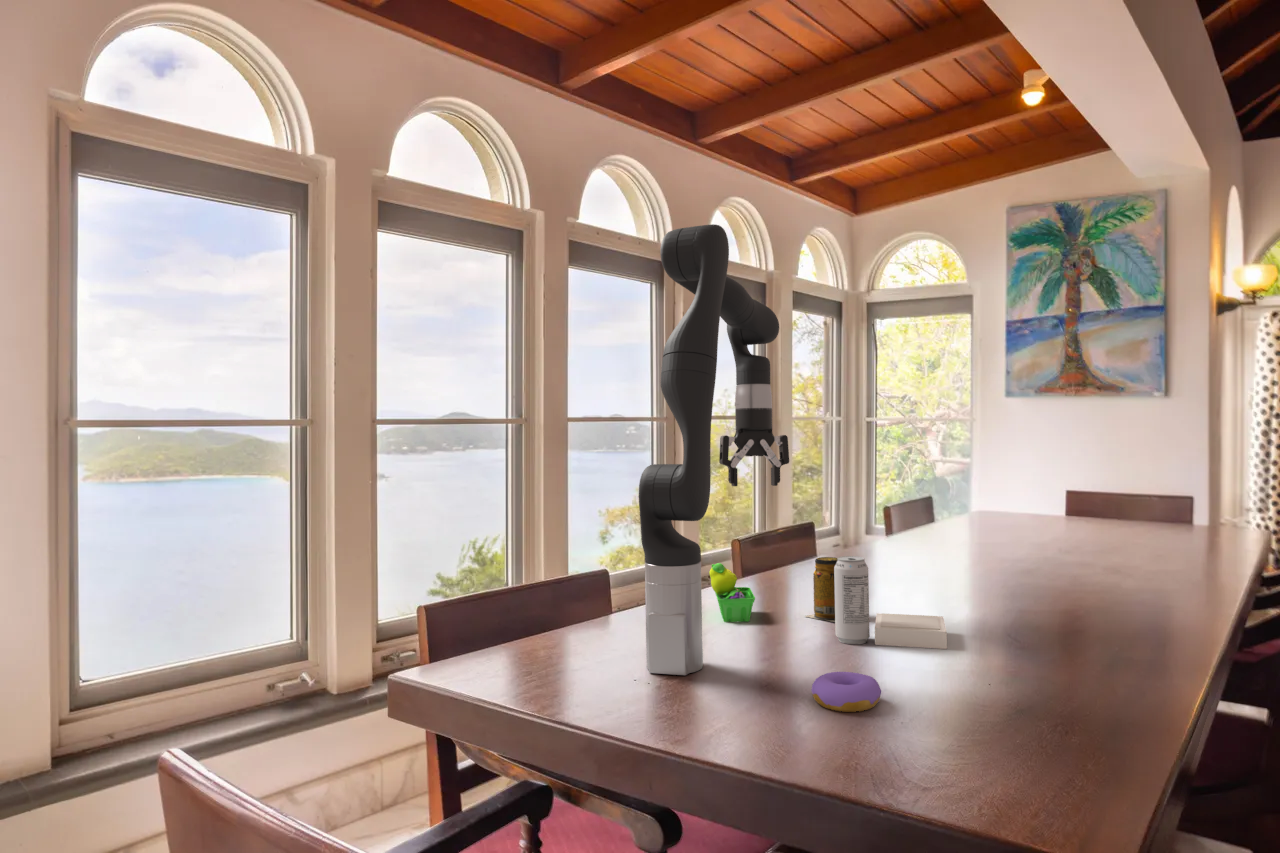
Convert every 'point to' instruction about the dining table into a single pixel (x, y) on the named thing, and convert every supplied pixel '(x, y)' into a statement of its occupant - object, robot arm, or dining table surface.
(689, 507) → the robot arm
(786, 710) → the dining table surface
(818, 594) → the condiment
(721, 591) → the fruit basket
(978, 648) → the dining table surface
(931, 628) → the beige rectangular box
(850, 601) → the energy drink can
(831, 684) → the donut
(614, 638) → the dining table surface
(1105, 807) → the dining table surface
